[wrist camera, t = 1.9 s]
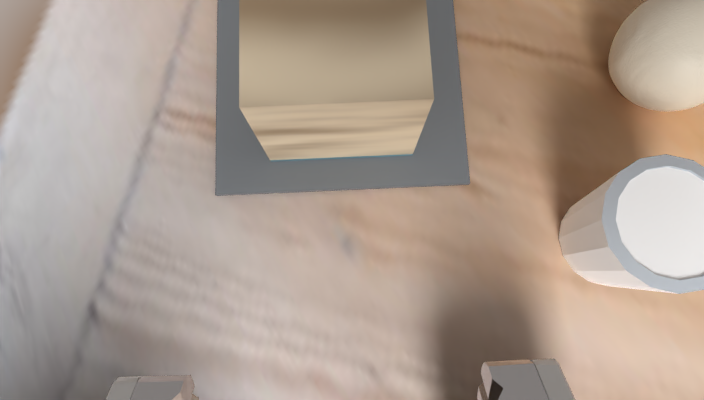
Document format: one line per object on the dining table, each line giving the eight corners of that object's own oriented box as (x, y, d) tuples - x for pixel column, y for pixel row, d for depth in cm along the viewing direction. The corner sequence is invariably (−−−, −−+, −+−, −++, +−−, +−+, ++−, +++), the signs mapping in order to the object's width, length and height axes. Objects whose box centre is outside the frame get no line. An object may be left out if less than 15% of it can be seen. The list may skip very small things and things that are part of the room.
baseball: (706, 44, 34) (790, -18, 27) (678, 140, 33) (760, 99, 26) (608, 10, 34) (668, -58, 28) (577, 104, 33) (633, 54, 27)
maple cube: (412, 155, 32) (434, 99, 23) (270, 161, 32) (239, 107, 23) (403, 26, 34) (420, -71, 25) (269, 32, 34) (239, -64, 25)
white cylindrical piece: (525, 237, 31) (573, 218, 25) (599, 164, 32) (665, 126, 25) (609, 320, 30) (683, 324, 23) (682, 242, 31) (775, 225, 24)
